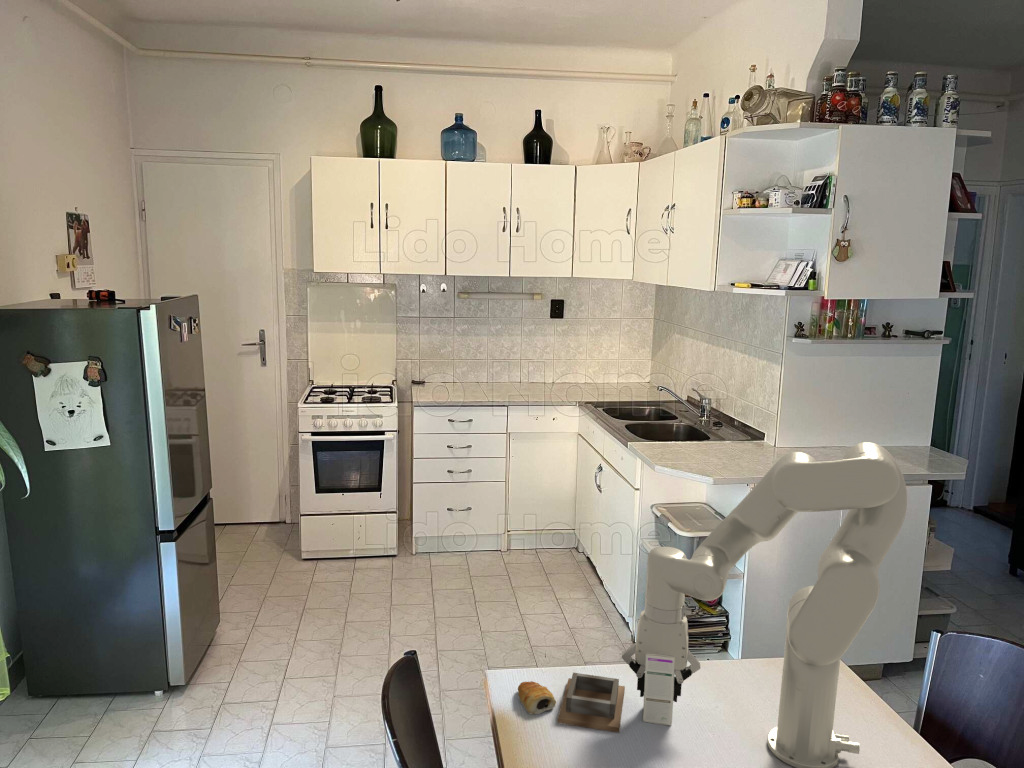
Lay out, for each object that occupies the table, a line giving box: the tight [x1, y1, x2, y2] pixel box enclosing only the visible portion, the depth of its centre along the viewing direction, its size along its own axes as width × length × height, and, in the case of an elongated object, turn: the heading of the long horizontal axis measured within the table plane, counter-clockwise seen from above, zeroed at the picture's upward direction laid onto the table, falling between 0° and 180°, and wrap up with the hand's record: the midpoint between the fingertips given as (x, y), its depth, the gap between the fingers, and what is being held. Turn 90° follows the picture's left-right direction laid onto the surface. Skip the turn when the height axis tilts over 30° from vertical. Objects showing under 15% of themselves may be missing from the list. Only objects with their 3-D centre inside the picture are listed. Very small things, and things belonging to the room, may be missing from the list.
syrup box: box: [642, 654, 675, 726], centre depth 150 cm, size 6×6×14 cm
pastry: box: [517, 680, 557, 715], centre depth 155 cm, size 9×7×4 cm
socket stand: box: [557, 672, 626, 733], centre depth 153 cm, size 12×15×4 cm
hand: (658, 694), depth 150 cm, fingers closed on syrup box, 5 cm apart
